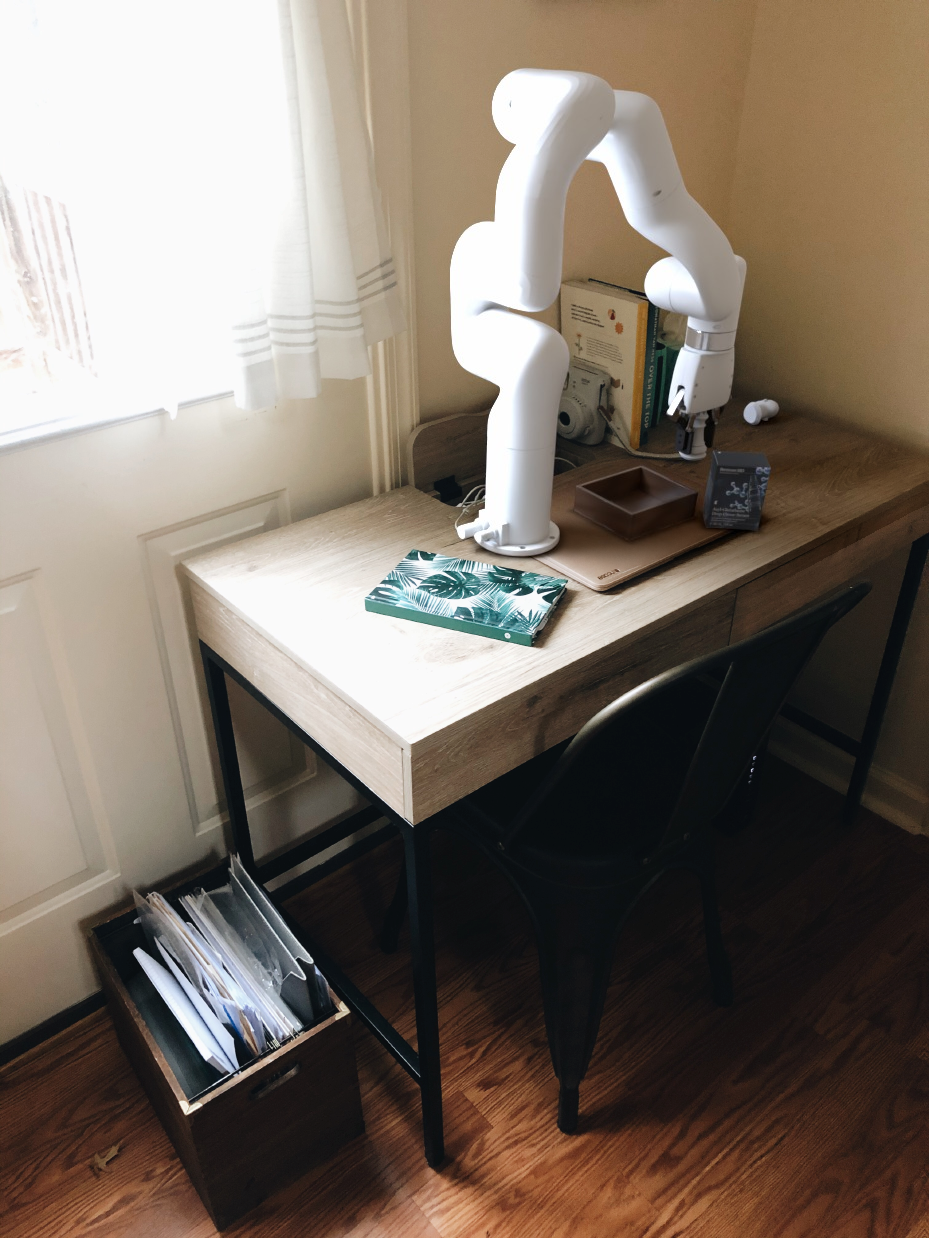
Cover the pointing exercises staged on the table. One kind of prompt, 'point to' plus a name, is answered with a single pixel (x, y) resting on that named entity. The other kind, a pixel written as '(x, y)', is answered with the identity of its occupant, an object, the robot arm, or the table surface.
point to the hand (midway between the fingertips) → (693, 447)
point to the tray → (635, 502)
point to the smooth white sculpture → (760, 411)
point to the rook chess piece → (698, 438)
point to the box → (736, 490)
